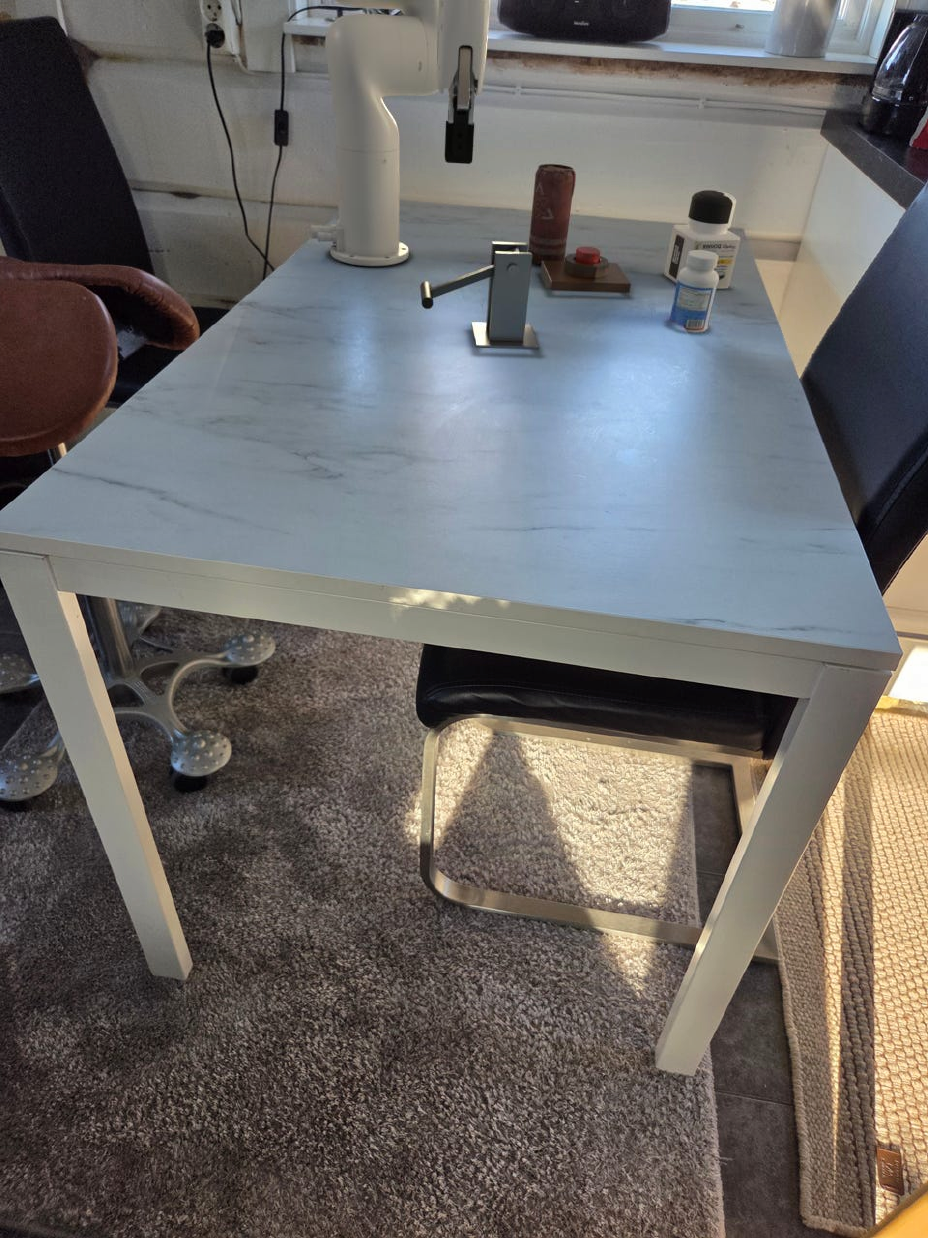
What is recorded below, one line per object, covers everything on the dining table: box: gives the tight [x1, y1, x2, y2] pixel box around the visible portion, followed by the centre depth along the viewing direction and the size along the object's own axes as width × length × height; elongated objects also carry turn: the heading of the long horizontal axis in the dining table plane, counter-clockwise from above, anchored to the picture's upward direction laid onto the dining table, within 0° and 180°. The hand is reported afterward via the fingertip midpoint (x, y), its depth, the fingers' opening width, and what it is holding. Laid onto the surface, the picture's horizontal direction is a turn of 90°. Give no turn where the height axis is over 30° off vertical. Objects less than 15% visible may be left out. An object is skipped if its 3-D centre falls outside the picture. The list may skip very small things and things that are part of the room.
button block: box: [540, 252, 632, 294], centre depth 126 cm, size 12×10×4 cm
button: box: [575, 246, 601, 264], centre depth 125 cm, size 4×4×2 cm
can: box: [527, 163, 577, 267], centre depth 132 cm, size 6×6×14 cm
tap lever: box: [419, 247, 519, 310], centre depth 102 cm, size 13×6×2 cm, turn 94°
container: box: [663, 189, 741, 290], centre depth 128 cm, size 8×8×13 cm
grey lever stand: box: [471, 241, 540, 350], centre depth 104 cm, size 8×8×12 cm
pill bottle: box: [669, 250, 719, 334], centre depth 113 cm, size 6×5×10 cm
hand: (458, 161), depth 97 cm, fingers closed
